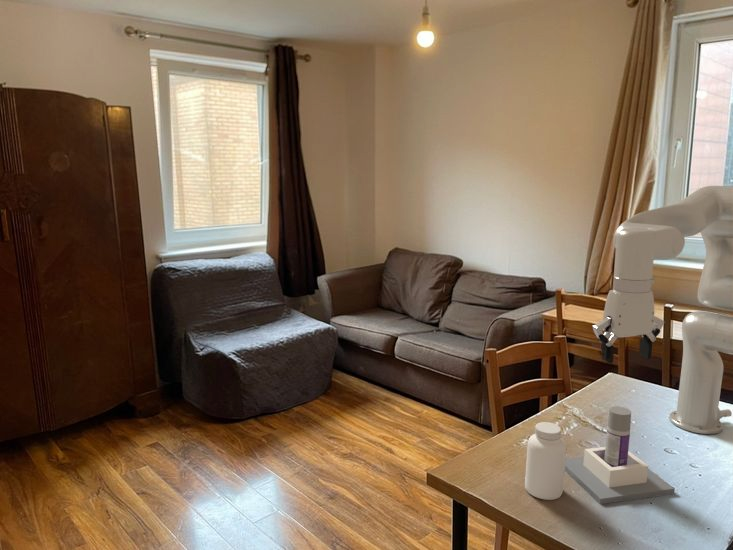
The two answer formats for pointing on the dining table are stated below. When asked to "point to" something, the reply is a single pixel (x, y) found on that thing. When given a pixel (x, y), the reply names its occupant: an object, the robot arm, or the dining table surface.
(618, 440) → the container
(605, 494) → the square socket holder
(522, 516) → the dining table surface
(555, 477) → the pill bottle
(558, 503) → the dining table surface
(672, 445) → the dining table surface
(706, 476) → the dining table surface
